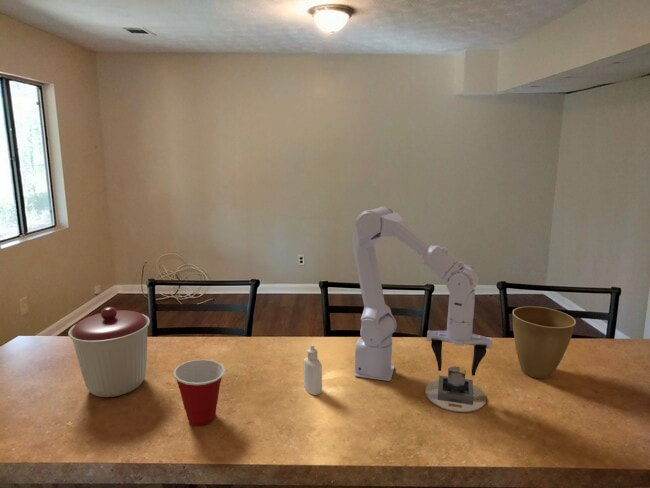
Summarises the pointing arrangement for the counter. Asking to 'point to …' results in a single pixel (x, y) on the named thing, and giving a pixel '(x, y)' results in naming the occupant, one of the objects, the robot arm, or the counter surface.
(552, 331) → the plant pot
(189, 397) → the plastic cup
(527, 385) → the counter surface
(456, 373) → the shaft
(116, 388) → the canister
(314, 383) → the eye dropper bottle
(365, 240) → the robot arm
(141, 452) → the counter surface
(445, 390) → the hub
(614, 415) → the counter surface
